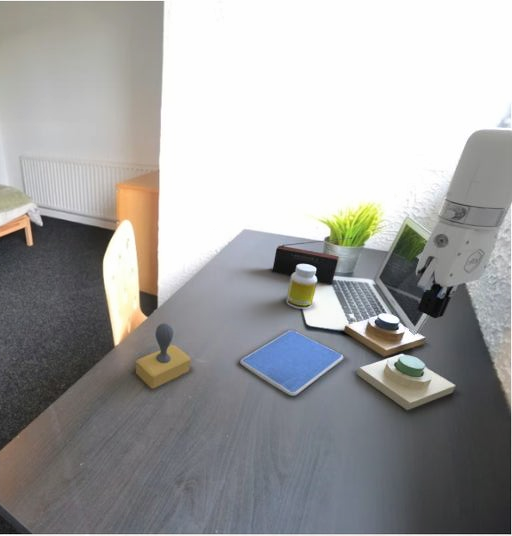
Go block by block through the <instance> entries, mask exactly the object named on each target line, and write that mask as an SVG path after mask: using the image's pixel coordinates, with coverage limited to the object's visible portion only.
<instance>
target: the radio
mask: <svg viewBox="0 0 512 536" xmlns="http://www.w3.org/2000/svg"><path fill="white" fill-rule="evenodd" d="M350 239H353V237H345V238H344V240H350ZM341 240H342V238H337V239H335V241H341ZM330 241H332V239H327V240H316V241H315V243H323V242H330ZM304 244H314V241H307V242H297V243H287V244H282V245H278V246H277V248H276V249H275V255H274V260H273V265H272V270H271V271H272V273H275V274H276V273H277V274H281V275H286V276H290V277H291V275H292V274H293V273H294V272H296V266H297V265H298V264H308V265H312V266H314V267H315V268H316V274H315V276H316V278H317V283H322V284H327V285H330V286H332V285H333V282H334V278H335V275H336V270H337V267H338V263H339V259H340V257H339V255H334V254H328V253H324V252H319V251H312V250H307V249H301V248H296V247H290V246H295V245H304Z"/></svg>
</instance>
